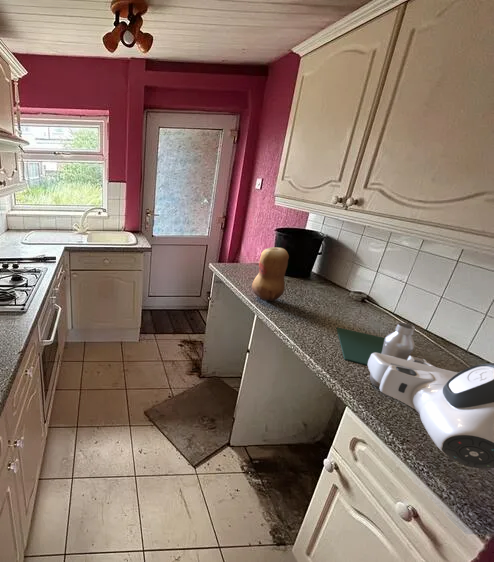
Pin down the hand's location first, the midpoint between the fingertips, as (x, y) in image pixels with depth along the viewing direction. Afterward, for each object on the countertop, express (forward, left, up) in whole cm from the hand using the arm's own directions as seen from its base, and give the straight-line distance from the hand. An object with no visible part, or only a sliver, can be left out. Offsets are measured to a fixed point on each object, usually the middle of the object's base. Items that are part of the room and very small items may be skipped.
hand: (415, 359), depth 75 cm
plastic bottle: (-6, -11, -17) cm, 21 cm away
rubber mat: (-17, -30, -17) cm, 38 cm away
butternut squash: (0, -70, -17) cm, 72 cm away
